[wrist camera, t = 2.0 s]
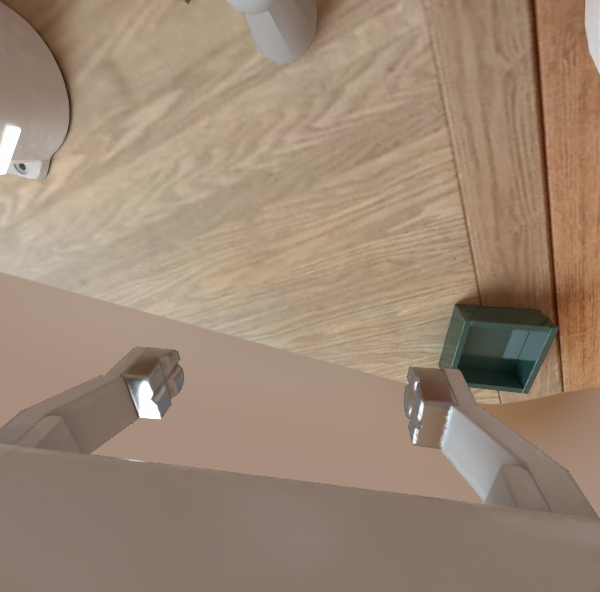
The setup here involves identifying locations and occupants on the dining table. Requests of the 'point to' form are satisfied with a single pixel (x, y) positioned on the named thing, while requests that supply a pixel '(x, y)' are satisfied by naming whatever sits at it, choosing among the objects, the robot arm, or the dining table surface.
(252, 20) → the salt shaker
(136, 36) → the dining table surface
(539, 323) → the holder
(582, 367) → the dining table surface
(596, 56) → the bowl
